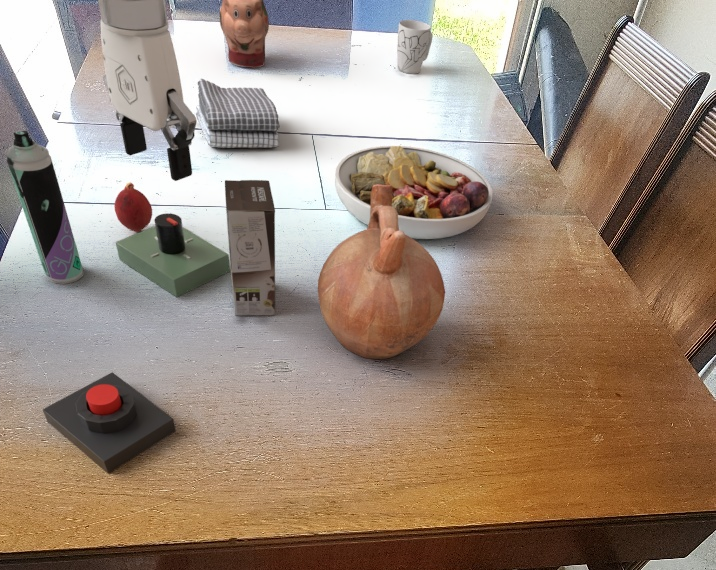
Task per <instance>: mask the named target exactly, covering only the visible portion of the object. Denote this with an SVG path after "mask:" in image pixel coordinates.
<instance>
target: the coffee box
mask: <svg viewBox="0 0 716 570" xmlns="http://www.w3.org/2000/svg"><path fill="white" fill-rule="evenodd" d="M224 192H225V193H224V194H225V210H226V226H227V227H226V228H227V238H228V239H227V240H228V250H229V251H228V252H229V253H228V254H229V265H230V277H231V289H232V298H233V300H232V301H233V310H234V315H235V316H275V315H276V208H275V203H274V198H273V193H272V189H271V184H270V180H266V179H265V180H264V179H261V180H260V179H241V180H231V179H230V180H229V179H226V180H224Z"/></svg>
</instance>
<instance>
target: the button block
mask: <svg viewBox="0 0 716 570" xmlns="http://www.w3.org/2000/svg"><path fill="white" fill-rule="evenodd" d="M102 384H107V385H111V386H114V387H115V388H116V389H117V390H118V393H119V396H120V400H121V407H120V409H119V410H118V411H116V412H115V413H113V414H109V415H103V416H101V415H96V414H94V413H93V412H92V411H91V410H90V407H89V404H88V401H87V398H86V394H87V392H88V391H89V390H90V389H91V388H92V387H94V386H97V385H102ZM42 413H43V415H44V417H45V419H46V421H47V423H48V424H49V425H50V426H51V427H53V428H54V429H55V430H56V431H57V432H59V434H61V435H62V436H63V437H64V438H65V439H67V440H68V441H69V442H71V444H73V445H74V446H75V447H76V448H77V449H79V451H81V452H82V453H83V454H84V455H85V456H86V457H88V458H89V459H90V460H91V461H92V462H94V463H95V465H97V466H98V467H99V468H101V469H102V470H103V471H104V472H105V473H107V474H108V475H110V473H112V472H114V471H115V470H117V469H119V468H120V467H122V466H123V465H125V464H126V463H128V462H130V461H132V460H133V459H135V458H136V457H137V456H139V455H141V454H143V453H144V452H145V451H147V450H149V449H150V448H152V447H154V446H155V445H156V444H158V443H160V442H161V441H162V440H164V439H165V438H167V437H170V435H172V434H174V433H175V432H177V430H176V425H175V424H176V423H175V419H174V418H173V417H172V416H171V415H169V413H167V412H165V410H163V409H161V408H160V407H159V406H158V405H156V404H155V403H154V402H152V401H151V400H150V399H149V398H147V397H146V396H145V395H143V394H142V393H141V392H139V391H138V390H137V389H136V388H134V387H132V385H131V384H129V383H127V382H126V381H125V380H124V379H122V378H121V377H119V376H118V375H117V374H115V373H114V371H112V372H110V373H108V374H106V375H104V376H102V377H100V378H99V379H97V380H94V381H93V382H90V383H89V384H87V385H85V386H84V387H82V388H80V389H78V390H76V391H74V392H72V393H70V394H68V395H67V396H65V397H63V398H61V399H59V400H57V401H55V402H53V403H52V404H50V405H48V406H46V407H44V408H42Z"/></svg>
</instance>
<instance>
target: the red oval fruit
mask: <svg viewBox="0 0 716 570" xmlns="http://www.w3.org/2000/svg"><path fill="white" fill-rule="evenodd" d="M124 186H125V187H124V188H123V189H122V190H121V191H119V193H118V194H117V196H116V198H115V201H114V205H113V206H114V212H115V216H116V218H117V220H118V222H119V223H120V224H121V225H122V226H123V227H125V228H126V229H128V230H130V231H133V232H135V233H139V232H142V231H143V230H145V228H146V227H147V226H148V225H149V224H150V223H151V221H152V217H153V206H152V204H151V202H150V200H149V199H148V198H147V197H146V195H145V194H144V193H143V192H141V191H140V190H138V189H136V188H135V185H134V184H133V182H131V181H130V182H127V183H126V185H124Z"/></svg>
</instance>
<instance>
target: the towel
mask: <svg viewBox="0 0 716 570" xmlns="http://www.w3.org/2000/svg"><path fill="white" fill-rule="evenodd" d="M197 86H198V87H197V90H198V94H197V95H198V105H196V112H195V117H196V120H197V122H198V124H199V126H200V129H201V131H202V132H201V133H202V134H203V136H204V138H205V141H206V143H207V145H208V146H209V147H213V148H221V149H224V148H227V149H230V148H232V149H234V148H236V149H237V148H238V149H239V148H245V149H246V148H248V149H251V148H253V149H255V148H256V149H258V148H259V149H262V148H263V149H267V148H268V149H269V148H278V147H279V146H280V144H279V137H280V136H279V133H278V131H279V130H280V121H279V114H278V111H277V108H276V105H275V104H274V102H273V101H272V100H271V99H270V98H269V96H268V95H267V93H266V91H265V90H264V88H262V87H227V88H226V87H220V86H219V85H216V84H215V82H211V81H210V80H205V79H204V78H199V80H198V81H197Z"/></svg>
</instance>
